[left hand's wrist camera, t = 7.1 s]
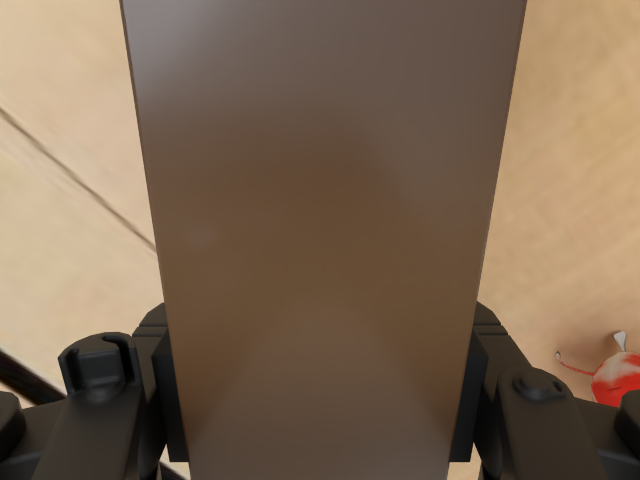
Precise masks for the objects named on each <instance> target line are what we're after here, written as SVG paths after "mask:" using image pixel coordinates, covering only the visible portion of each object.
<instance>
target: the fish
mask: <svg viewBox="0 0 640 480" xmlns="http://www.w3.org/2000/svg"><path fill="white" fill-rule="evenodd" d="M626 337H627V335H626V333H625V332H624V331H621V332H619V333H617V334H614V338H615V340H616V341H617V343H618V344H619V346H620V348H621V349H622V351H623V352H618V353H617V354H615V355H613V356H612V357H610V358H608V359H606V360H605V361H604V362H603V364H602V365H601V366H600V367H599V368H598V369H597V371H596V372H595V373H591V372H584V371H581V370H578V369H575V368H573V367H571V366H569V365H567V364H565V363H564V362H562V361H561V360H560V353H559V352H557V354H556V356H555V357H556V358H557V359H558V361H559V362H560V363H561V364H562V365H563V366H565V367H567V368H570V369H572V370H575V371H577V372H580V373H584V374H588V375H592V376H593V379H592V384H591V387H592V396H593V400H594V402H596V403H600V404H605V405H610V406H614V407H619V404H620V401H621V398H622V396H623V395H624V394H625V393H626V392H628V391H631V390H637V389H640V354H639V353H636V352H626V350H625V341H626Z"/></svg>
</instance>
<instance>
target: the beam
mask: <svg viewBox="0 0 640 480" xmlns="http://www.w3.org/2000/svg"><path fill="white" fill-rule="evenodd" d="M119 2H120V9H121V16H122V22H123V29H124V36H125V42H126V49H127V56H128V62H129V69H130V76H131V82H132V89H133V96H134V102H135V109H136V116H137V122H138V129H139V136H140V142H141V149H142V156H143V162H144V169H145V176H146V182H147V189H148V196H149V203H150V209H151V216H152V223H153V229H154V236H155V243H156V249H157V256H158V263H159V269H160V276H161V283H162V289H163V296H164V303H165V309H166V316H167V323H168V329H169V336H170V343H171V349H172V356H173V363H174V369H175V376H176V383H177V389H178V396H179V403H180V409H181V416H182V423H183V429H184V436H185V443H186V449H187V456H188V463H189V469H190V476H191V480H447V475H448V469H449V463H450V457H451V451H452V445H453V439H454V433H455V427H456V421H457V415H458V409H459V403H460V397H461V391H462V385H463V379H464V373H465V367H466V361H467V355H468V350H469V344H470V338H471V332H472V326H473V320H474V314H475V308H476V302H477V296H478V290H479V284H480V278H481V272H482V266H483V260H484V254H485V248H486V242H487V236H488V230H489V224H490V218H491V212H492V206H493V200H494V195H495V189H496V183H497V177H498V171H499V165H500V159H501V153H502V147H503V141H504V135H505V129H506V123H507V117H508V111H509V105H510V99H511V93H512V87H513V81H514V75H515V69H516V63H517V57H518V51H519V45H520V39H521V34H522V28H523V22H524V16H525V10H526V4H527V0H119Z"/></svg>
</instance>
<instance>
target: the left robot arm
mask: <svg viewBox="0 0 640 480" xmlns="http://www.w3.org/2000/svg"><path fill="white" fill-rule="evenodd" d="M58 362H59V365H60V369H61V372H62V376H63V379H64V383H65V387H66V390H67V397H66V399H64V400H60V401H57V402H53V403H48V404H43V405H39V406H34V407H30V408H25V409H22V408H21V405H20V402H19V399H18V397H16V396H15V395H14V394H13V393H10V392H4V391H0V480H162V479H161V472H160V466H159V460H160V457H161V455H162V453H163V450H164V448H165V445H166V444H167V449H168V455H169V460H170V462H188V456H187V449H186V443H185V436H184V429H183V423H182V416H181V409H180V403H179V396H178V389H177V383H176V376H175V369H174V363H173V356H172V349H171V343H170V336H169V329H168V323H167V316H166V309H165V303H161V304H160V305H158V306H157V307H155V308H154V309H152V310H151V311H149V312H148V313H147V314H146V316H145V317H144V319H143V320H142V321H141V323H140V324H139V327H137V328H136V330H135V331H134V333H133V334H132V337H131V336H130V335H129V334H125V333H121V332H104V333H100V334H95V335H91V336H88V337H86V338H83V339H81V340H79V341H76V342H75V343H73V344H72V345H70V346H69V347H67V348H66V349H64V351H63V352H62V353H61V354H60V355H59V357H58ZM473 442H474V444H475V446H476V449H477V451H478V453H479V456H480V458H481V466H480V472H479V477H478V480H640V389H637V390H631V391H628V392H626V393H625V394H624V395H623V396H622V398H621V401H620V404H619V407H614V406H610V405H605V404H600V403H596V402H591V401H587V400H583V399H579V398H576V397H574V396H573V394H572V392H571V391H570V390H569V388H568V387H567V385H566V384H565V383H563V382H562V381H561V380H560V379H558V378H557V377H556V376H554V375H552V374H550V373H548V372H546V371H544V370H541V369H537V368H534V367H532V366H531V364H530V363H529V362H528V360H527V359H526V357H525V356H524V355H523V353H522V352H521V350H520V349H519V348H518V346H517V345H516V343H515V342H514V341H513V339H512V338H511V337H510V335H508V332H507V331H506V330H505V328H504V327H503V326H501V323H500V321H499V320H498V318H497V317H496V316H495V314H494V313H493V311H491V310H490V309H488V308H487V307H485V306H484V305H482V304H481V303H479V302H478V301H477V302H476V308H475V314H474V320H473V326H472V332H471V338H470V344H469V350H468V355H467V361H466V367H465V373H464V379H463V385H462V391H461V397H460V403H459V409H458V415H457V421H456V427H455V433H454V439H453V445H452V451H451V457H450V462H470V459H471V453H472V448H473Z"/></svg>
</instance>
